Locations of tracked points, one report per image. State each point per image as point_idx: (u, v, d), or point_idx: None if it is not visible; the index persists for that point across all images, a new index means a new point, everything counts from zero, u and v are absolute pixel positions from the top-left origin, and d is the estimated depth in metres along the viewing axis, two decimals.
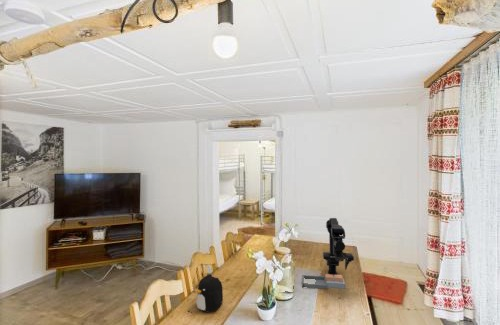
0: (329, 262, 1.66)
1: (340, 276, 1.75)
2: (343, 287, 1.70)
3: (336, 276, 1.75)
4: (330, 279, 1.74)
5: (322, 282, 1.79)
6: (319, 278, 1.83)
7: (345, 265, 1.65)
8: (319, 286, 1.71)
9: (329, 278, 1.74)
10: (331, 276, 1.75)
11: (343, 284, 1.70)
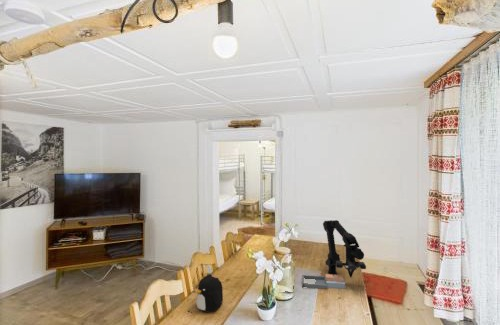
0: (349, 271, 1.73)
1: (340, 276, 1.75)
2: (343, 287, 1.70)
3: (336, 276, 1.75)
4: (330, 279, 1.74)
5: (322, 282, 1.79)
6: (319, 278, 1.83)
7: (350, 273, 1.74)
8: (319, 286, 1.71)
9: (329, 278, 1.74)
10: (331, 276, 1.75)
11: (343, 284, 1.70)
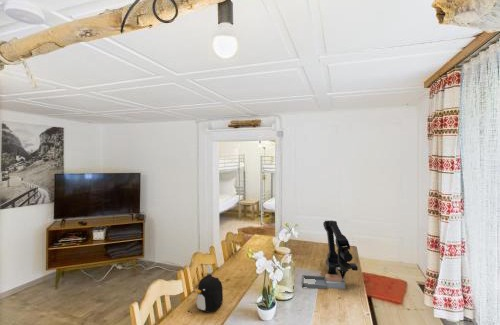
0: (341, 272, 1.73)
1: (339, 276, 1.75)
2: (343, 287, 1.70)
3: (335, 276, 1.75)
4: (330, 279, 1.74)
5: (322, 282, 1.79)
6: (319, 278, 1.83)
7: None
8: (319, 286, 1.71)
9: (329, 278, 1.74)
10: (331, 276, 1.75)
11: (343, 284, 1.70)
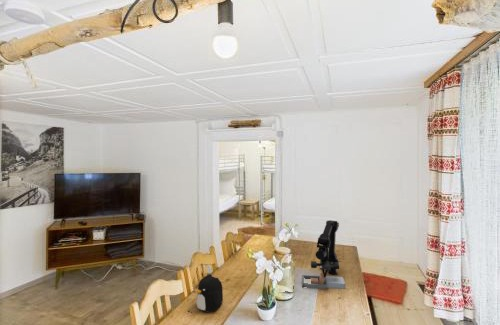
0: (323, 271, 1.75)
1: (320, 277, 1.77)
2: (343, 287, 1.70)
3: (319, 280, 1.77)
4: (313, 282, 1.76)
5: None
6: None
7: None
8: (319, 286, 1.71)
9: (314, 283, 1.76)
10: None
11: (343, 284, 1.70)
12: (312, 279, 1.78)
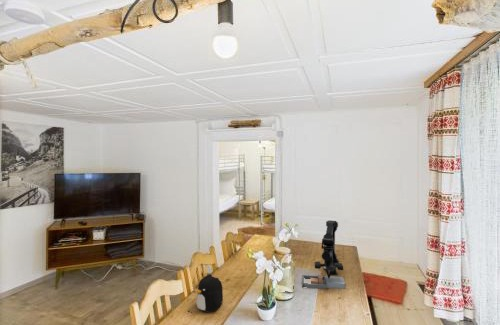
0: (327, 271, 1.75)
1: (318, 277, 1.78)
2: (343, 287, 1.70)
3: (318, 281, 1.77)
4: (313, 282, 1.76)
5: None
6: None
7: (329, 274, 1.76)
8: (319, 286, 1.71)
9: (314, 283, 1.76)
10: None
11: (343, 284, 1.70)
12: (312, 279, 1.78)
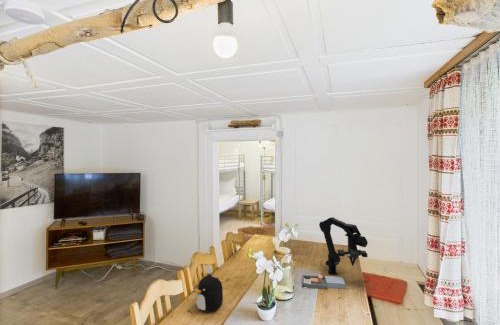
0: (351, 259, 1.77)
1: (318, 277, 1.78)
2: (343, 287, 1.70)
3: (318, 281, 1.77)
4: (313, 282, 1.76)
5: None
6: None
7: (352, 261, 1.78)
8: (319, 286, 1.71)
9: (314, 283, 1.76)
10: None
11: (343, 284, 1.70)
12: (312, 279, 1.78)
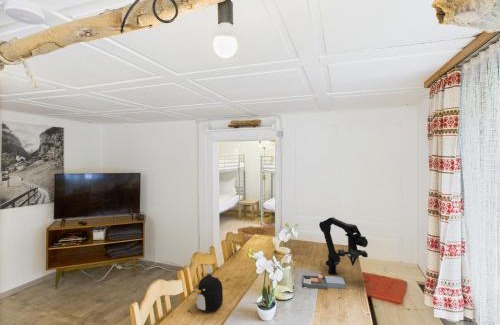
0: (351, 259, 1.77)
1: (318, 277, 1.78)
2: (343, 287, 1.70)
3: (318, 281, 1.77)
4: (313, 282, 1.76)
5: None
6: None
7: None
8: (319, 286, 1.71)
9: (314, 283, 1.76)
10: None
11: (343, 284, 1.70)
12: (312, 279, 1.78)
